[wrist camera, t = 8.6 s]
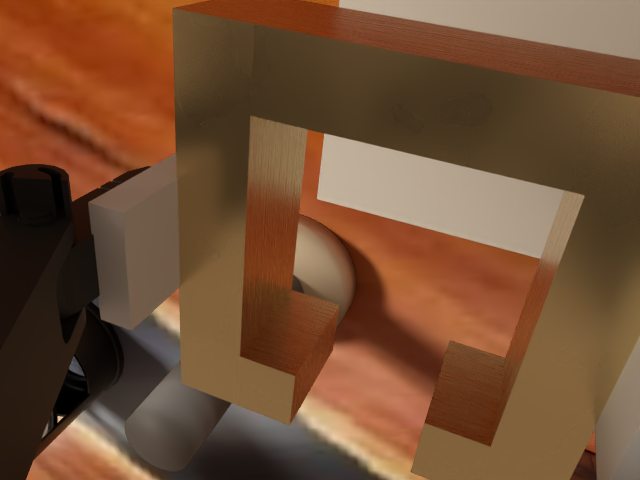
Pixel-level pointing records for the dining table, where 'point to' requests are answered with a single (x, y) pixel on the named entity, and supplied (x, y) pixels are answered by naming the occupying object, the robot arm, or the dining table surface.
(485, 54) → the brass C-link
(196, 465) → the dining table surface
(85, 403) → the french press
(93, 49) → the dining table surface
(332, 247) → the peg stand
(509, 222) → the felt mat
